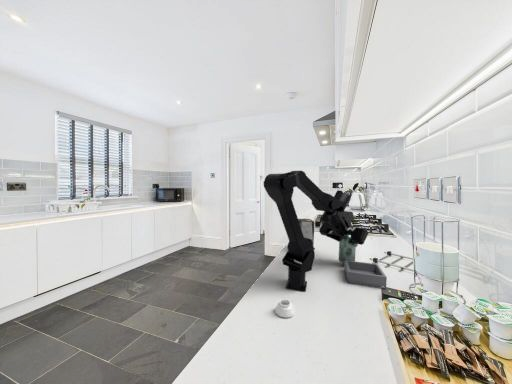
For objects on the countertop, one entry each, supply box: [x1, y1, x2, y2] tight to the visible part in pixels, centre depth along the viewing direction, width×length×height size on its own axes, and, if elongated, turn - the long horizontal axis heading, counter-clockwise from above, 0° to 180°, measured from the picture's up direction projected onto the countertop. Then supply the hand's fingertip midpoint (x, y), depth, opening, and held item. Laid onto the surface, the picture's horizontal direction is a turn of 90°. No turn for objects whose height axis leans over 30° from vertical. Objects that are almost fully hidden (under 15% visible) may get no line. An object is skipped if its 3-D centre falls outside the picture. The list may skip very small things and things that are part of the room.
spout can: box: [338, 227, 357, 264], centre depth 88 cm, size 6×6×16 cm
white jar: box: [274, 298, 295, 318], centre depth 56 cm, size 5×3×5 cm
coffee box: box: [298, 218, 315, 248], centre depth 104 cm, size 9×6×16 cm
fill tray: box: [344, 260, 388, 289], centre depth 76 cm, size 12×12×4 cm
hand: (349, 243), depth 89 cm, fingers closed on spout can, 6 cm apart
